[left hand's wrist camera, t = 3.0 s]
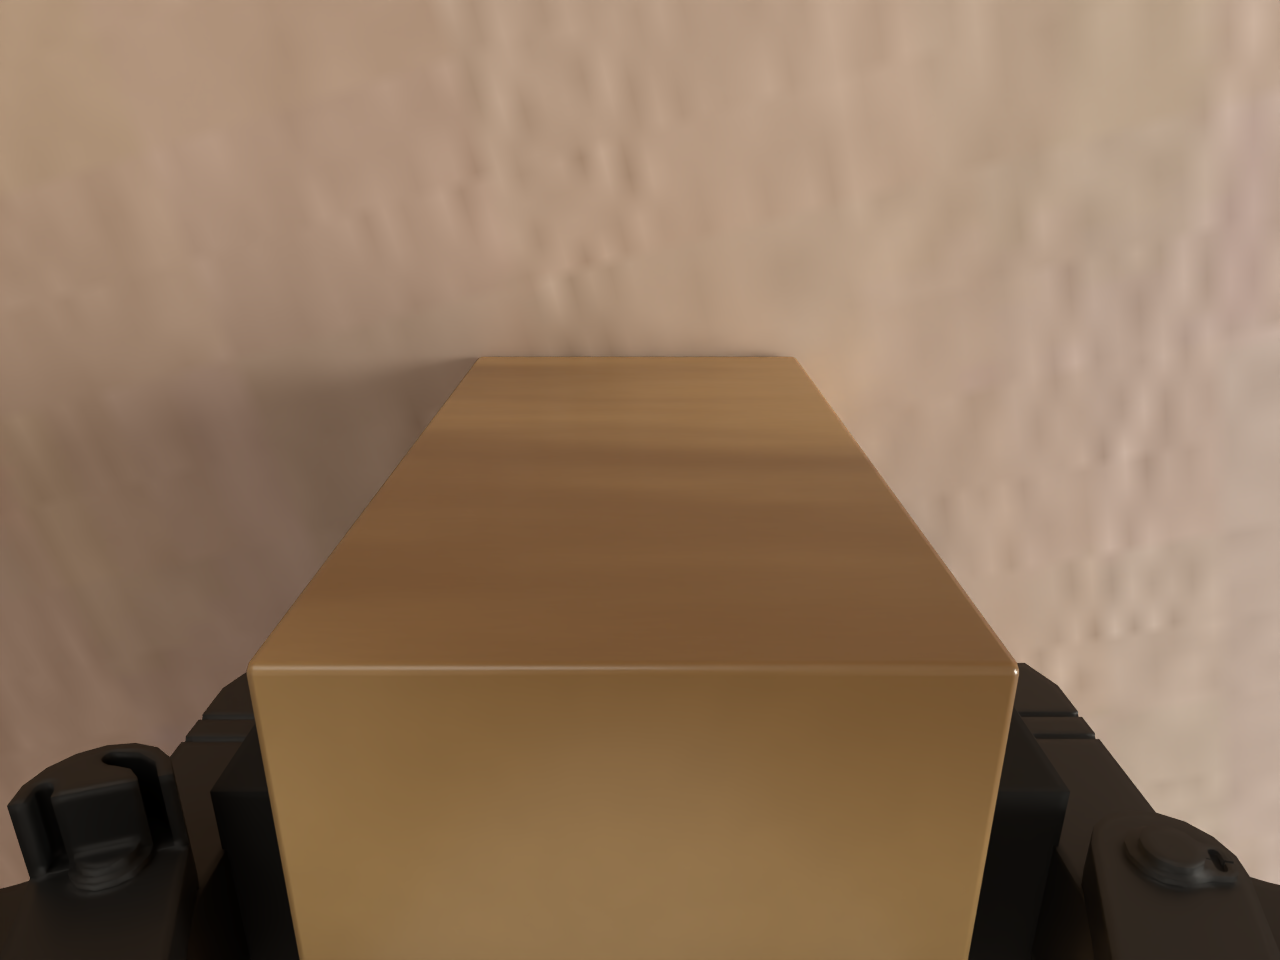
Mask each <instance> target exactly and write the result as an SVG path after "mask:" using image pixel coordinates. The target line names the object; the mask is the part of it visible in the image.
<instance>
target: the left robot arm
mask: <svg viewBox="0 0 1280 960" xmlns="http://www.w3.org/2000/svg"><path fill="white" fill-rule="evenodd" d="M1017 665H1018V668H1019V677H1018V683H1017V688H1016V694H1015V700H1014V705H1013V711H1012V716H1011V722H1010V727H1009V733H1008V739H1007V744H1006V750H1005V755H1004V761H1003V766H1002V772H1001V778H1000V783H999V789H998V794H997V800H996V805H995V811H994V817H993V822H992V828H991V833H990V839H989V844H988V850H987V856H986V861H985V867H984V872H983V878H982V884H981V889H980V895H979V900H978V906H977V911H976V917H975V923H974V928H973V934H972V939H971V945H970V950H969V956H968V960H1280V885H1277V884H1273V883H1268V882H1265V881H1262V880H1258V879H1255V878H1252V877H1250V876H1249V875H1248V873H1247V872H1246V870H1245V869H1244V867H1243V866H1242V864H1241V863H1240V861H1239V860H1238V858H1237V857H1236V856H1235V855H1234V854H1233V853H1232V852H1231V851H1229V850H1228V849H1227V848H1226V847H1225V846H1223V845H1222V844H1221V843H1220V842H1219V841H1217V840H1216V839H1215V838H1214V837H1212V836H1211V835H1209V834H1207V833H1205V832H1203V831H1201V830H1199V829H1197V828H1196V827H1194V826H1192V825H1190V824H1188V823H1186V822H1184V821H1181V820H1178V819H1175V818H1171V817H1168V816H1165V815H1162V814H1159V813H1156V812H1155V811H1154V810H1153V808H1152V807H1151V806H1150V804H1149V803H1148V802H1147V801H1146V799H1145V798H1144V797H1143V795H1142V794H1141V793H1140V791H1139V790H1138V789H1137V788H1136V786H1135V785H1134V784H1133V782H1132V781H1131V780H1130V779H1129V777H1128V776H1127V775H1126V773H1125V772H1124V771H1123V769H1122V768H1121V767H1120V766H1119V764H1118V763H1117V762H1116V760H1115V759H1114V758H1113V756H1112V755H1111V754H1110V753H1109V751H1108V750H1107V749H1106V747H1105V746H1104V745H1103V744H1102V742H1101V741H1100V740H1099V739H1095V733H1094V732H1093V731H1092V729H1091V728H1090V727H1089V725H1088V724H1087V723H1086V721H1085V720H1084V719H1083V718H1082V717H1078V711H1077V710H1076V709H1075V707H1074V706H1073V705H1072V703H1071V702H1070V701H1069V699H1068V698H1067V697H1066V696H1065V694H1064V693H1063V692H1062V690H1061V689H1060V688H1059V687H1058V685H1056V684H1055V683H1053V682H1052V681H1050V680H1049V679H1047V678H1046V677H1044V676H1043V675H1042V674H1040V673H1039V672H1037V671H1036V670H1034V669H1033V668H1031V667H1030V666H1028V665H1027V664H1025V663H1017ZM7 807H8V810H9V814H10V817H11V820H12V823H13V826H14V829H15V832H16V836H17V839H18V842H19V845H20V848H21V851H22V854H23V857H24V861H25V864H26V867H27V870H28V873H29V876H30V880H29V881H28V882H24V883H21V884H18V885H14V886H10V887H6V888H2V889H0V960H300V959H299V953H298V948H297V942H296V937H295V932H294V926H293V921H292V916H291V910H290V905H289V899H288V894H287V889H286V883H285V878H284V873H283V867H282V862H281V857H280V851H279V846H278V840H277V835H276V830H275V824H274V819H273V814H272V808H271V803H270V797H269V792H268V787H267V781H266V776H265V771H264V765H263V760H262V754H261V749H260V744H259V738H258V733H257V728H256V722H255V717H254V712H253V706H252V701H251V695H250V690H249V685H248V679H247V672H246V673H244V674H243V675H242V676H240V677H239V678H237V679H236V680H234V681H233V682H231V683H230V684H228V685H227V686H225V687H224V688H223V689H222V690H221V691H220V693H219V694H218V695H217V697H216V698H215V699H214V700H213V702H212V703H211V704H210V706H209V707H208V708H207V710H206V711H205V712H204V714H203V718H202V720H198V721H197V723H196V724H195V725H194V727H193V728H192V729H191V730H190V732H189V733H188V734H187V736H186V741H185V742H181V744H180V745H179V746H178V747H177V749H176V750H175V751H174V753H173V754H172V755H171V757H169V756H168V755H166V754H165V753H164V752H163V751H161V750H160V749H159V748H158V747H153V746H148V745H143V744H138V743H130V744H118V745H107V746H103V747H100V748H96V749H92V750H89V751H85V752H82V753H78V754H75V755H73V756H71V757H69V758H67V759H65V760H63V761H61V762H58V763H56V764H54V765H52V766H50V767H48V768H46V769H45V770H43V771H42V772H41V773H39V774H38V775H37V776H35V777H34V778H33V779H31V780H30V781H29V782H27V783H26V784H25V785H23V786H22V787H21V788H20V790H19V791H18V792H17V794H16V795H15V796H14V798H13V799H12V800H11V801H10V803H9V804H8V805H7Z"/></svg>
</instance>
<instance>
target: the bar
mask: <svg viewBox="0 0 1280 960" xmlns="http://www.w3.org/2000/svg"><path fill="white" fill-rule="evenodd" d="M1018 677H1019V668H1018V665H1017V662H1016V661H1015V660H1014V658H1013V657H1012V656H1011V654H1010V653H1009V651H1008V650H1007V649H1006V647H1005V646H1004V645H1003V643H1002V642H1001V640H1000V639H999V638H998V636H997V635H996V634H995V632H994V631H993V629H992V628H991V627H990V625H989V624H988V623H987V621H986V620H985V618H984V617H983V616H982V614H981V613H980V612H979V610H978V609H977V607H976V606H975V605H974V603H973V602H972V600H971V599H970V598H969V596H968V595H967V594H966V592H965V591H964V589H963V588H962V587H961V585H960V584H959V583H958V581H957V580H956V578H955V577H954V576H953V574H952V573H951V572H950V570H949V569H948V567H947V566H946V565H945V563H944V562H943V561H942V559H941V558H940V556H939V555H938V554H937V552H936V551H935V550H934V548H933V547H932V545H931V544H930V543H929V541H928V540H927V539H926V537H925V536H924V534H923V533H922V532H921V530H920V529H919V528H918V526H917V525H916V523H915V522H914V521H913V519H912V518H911V517H910V515H909V514H908V512H907V511H906V510H905V508H904V507H903V506H902V504H901V503H900V501H899V500H898V499H897V497H896V496H895V494H894V493H893V492H892V490H891V489H890V488H889V486H888V485H887V483H886V482H885V481H884V479H883V478H882V477H881V475H880V474H879V472H878V471H877V470H876V468H875V467H874V466H873V464H872V463H871V461H870V460H869V459H868V457H867V456H866V455H865V453H864V452H863V450H862V449H861V448H860V446H859V445H858V444H857V442H856V441H855V439H854V438H853V437H852V435H851V434H850V433H849V431H848V430H847V428H846V427H845V426H844V424H843V423H842V422H841V420H840V419H839V417H838V416H837V415H836V413H835V412H834V411H833V409H832V408H831V406H830V405H829V404H828V402H827V401H826V400H825V398H824V397H823V395H822V394H821V393H820V391H819V390H818V388H817V387H816V386H815V384H814V383H813V382H812V380H811V379H810V377H809V376H808V375H807V373H806V372H805V371H804V369H803V368H802V366H801V365H800V364H799V362H798V361H797V360H796V358H793V357H481V358H478V360H477V361H476V362H475V364H474V365H473V366H472V368H471V369H470V370H469V372H468V373H467V374H466V376H465V377H464V378H463V380H462V381H461V382H460V384H459V385H458V386H457V388H456V389H455V390H454V392H453V393H452V394H451V396H450V397H449V398H448V399H447V401H446V402H445V403H444V405H443V406H442V407H441V409H440V410H439V411H438V413H437V414H436V415H435V417H434V418H433V419H432V421H431V422H430V423H429V425H428V426H427V427H426V429H425V430H424V431H423V433H422V434H421V435H420V437H419V438H418V439H417V441H416V442H415V443H414V445H413V446H412V447H411V449H410V450H409V451H408V453H407V454H406V455H405V457H404V458H403V459H402V460H401V462H400V463H399V464H398V466H397V467H396V468H395V470H394V471H393V472H392V474H391V475H390V476H389V478H388V479H387V480H386V482H385V483H384V484H383V486H382V487H381V488H380V490H379V491H378V492H377V494H376V495H375V496H374V498H373V499H372V500H371V502H370V503H369V504H368V506H367V507H366V508H365V510H364V511H363V512H362V514H361V515H360V516H359V517H358V519H357V520H356V521H355V523H354V524H353V525H352V527H351V528H350V529H349V531H348V532H347V533H346V535H345V536H344V537H343V539H342V540H341V541H340V543H339V544H338V545H337V547H336V548H335V549H334V551H333V552H332V553H331V555H330V556H329V557H328V559H327V560H326V561H325V563H324V564H323V565H322V567H321V568H320V569H319V571H318V572H317V573H316V575H315V576H314V577H313V578H312V580H311V581H310V582H309V584H308V585H307V586H306V588H305V589H304V590H303V592H302V593H301V594H300V596H299V597H298V598H297V600H296V601H295V602H294V604H293V605H292V606H291V608H290V609H289V610H288V612H287V613H286V614H285V616H284V617H283V618H282V620H281V621H280V622H279V624H278V625H277V626H276V628H275V629H274V630H273V632H272V633H271V634H270V635H269V637H268V638H267V639H266V641H265V642H264V643H263V645H262V646H261V647H260V649H259V650H258V651H257V653H256V654H255V655H254V657H253V658H252V659H251V661H250V662H249V664H248V667H247V679H248V685H249V690H250V695H251V701H252V706H253V712H254V717H255V722H256V728H257V733H258V738H259V744H260V749H261V754H262V760H263V765H264V771H265V776H266V781H267V787H268V792H269V797H270V803H271V808H272V814H273V819H274V824H275V830H276V835H277V840H278V846H279V851H280V857H281V862H282V867H283V873H284V878H285V883H286V889H287V894H288V899H289V905H290V910H291V916H292V921H293V926H294V932H295V937H296V942H297V948H298V953H299V959H300V960H968V956H969V950H970V945H971V939H972V934H973V928H974V923H975V917H976V911H977V906H978V900H979V895H980V889H981V884H982V878H983V872H984V867H985V861H986V856H987V850H988V844H989V839H990V833H991V828H992V822H993V817H994V811H995V805H996V800H997V794H998V789H999V783H1000V778H1001V772H1002V766H1003V761H1004V755H1005V750H1006V744H1007V739H1008V733H1009V727H1010V722H1011V716H1012V711H1013V705H1014V700H1015V694H1016V688H1017V683H1018Z"/></svg>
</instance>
